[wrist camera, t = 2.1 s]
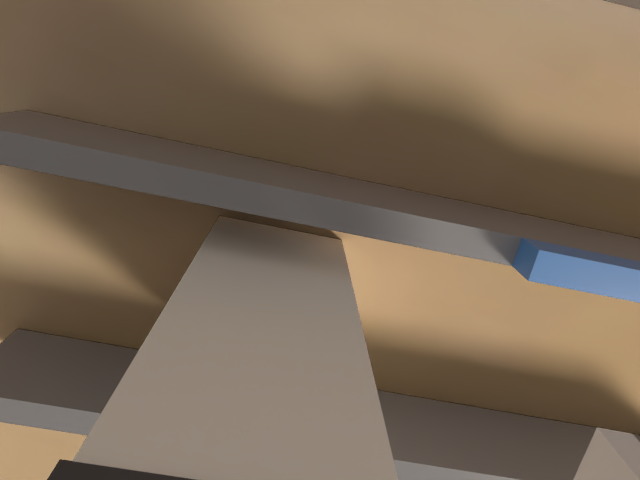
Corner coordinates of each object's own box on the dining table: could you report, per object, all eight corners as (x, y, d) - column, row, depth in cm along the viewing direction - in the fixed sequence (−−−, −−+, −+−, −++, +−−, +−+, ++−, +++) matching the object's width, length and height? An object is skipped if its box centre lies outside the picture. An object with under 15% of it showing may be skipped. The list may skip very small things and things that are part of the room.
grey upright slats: (15, 349, 17) (-78, 438, 13) (40, -181, 13) (-90, -308, 9) (660, 456, 20) (760, 562, 15) (871, 37, 15) (1092, 22, 11)
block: (197, 328, 17) (-2, 807, 6) (216, 211, 16) (12, 534, 5) (317, 350, 18) (345, 836, 6) (345, 237, 17) (438, 592, 5)
